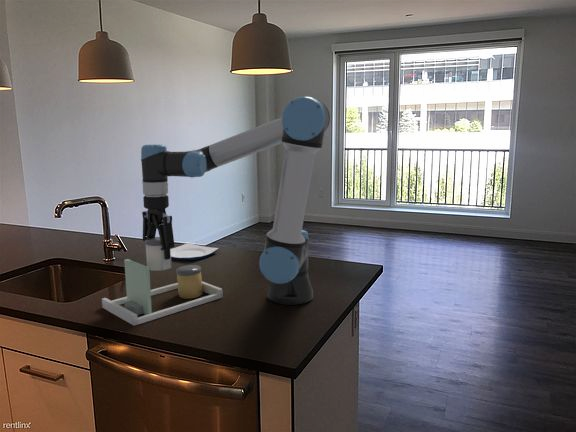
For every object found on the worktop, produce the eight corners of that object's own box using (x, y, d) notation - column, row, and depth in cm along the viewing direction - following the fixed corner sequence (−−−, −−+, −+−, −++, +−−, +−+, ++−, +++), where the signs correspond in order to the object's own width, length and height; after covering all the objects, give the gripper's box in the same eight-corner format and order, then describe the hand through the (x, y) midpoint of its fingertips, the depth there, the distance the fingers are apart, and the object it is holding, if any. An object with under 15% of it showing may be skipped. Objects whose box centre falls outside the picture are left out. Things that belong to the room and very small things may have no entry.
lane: (222, 297, 160) (222, 288, 160) (134, 325, 138) (133, 315, 137) (188, 283, 174) (187, 275, 173) (102, 307, 151) (101, 298, 151)
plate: (191, 264, 199) (190, 258, 198) (155, 257, 209) (155, 251, 209) (222, 253, 216) (222, 247, 215) (188, 247, 226) (188, 242, 226)
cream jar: (154, 272, 147) (153, 243, 146) (142, 267, 153) (140, 239, 151) (176, 267, 153) (175, 239, 151) (163, 262, 158) (162, 235, 156)
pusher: (151, 314, 145) (149, 267, 143) (141, 318, 143) (138, 269, 140) (130, 304, 154) (127, 258, 151) (120, 307, 152) (117, 261, 149)
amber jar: (207, 291, 165) (205, 266, 163) (193, 300, 157) (190, 273, 156) (188, 288, 168) (186, 263, 166) (173, 296, 161) (170, 271, 159)
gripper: (184, 197, 144) (187, 270, 148) (149, 190, 158) (153, 257, 162) (162, 200, 139) (166, 275, 143) (128, 192, 153) (132, 262, 157)
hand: (159, 266), depth 153 cm, fingers closed on cream jar, 7 cm apart
